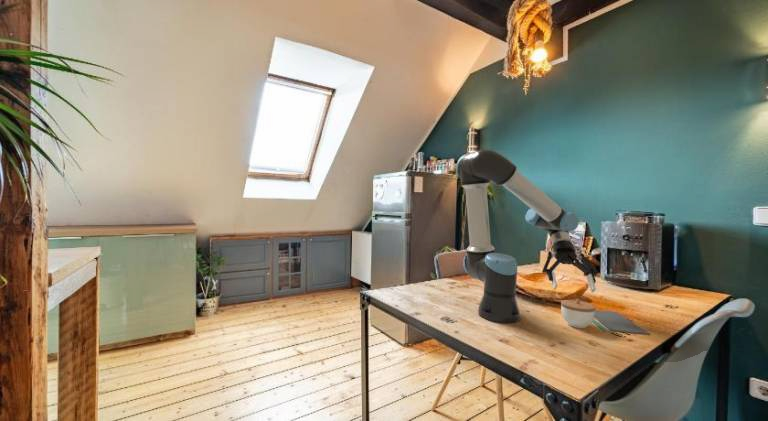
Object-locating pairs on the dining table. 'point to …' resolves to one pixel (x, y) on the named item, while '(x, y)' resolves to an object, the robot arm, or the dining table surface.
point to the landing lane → (616, 322)
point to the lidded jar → (577, 313)
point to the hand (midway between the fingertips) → (574, 289)
